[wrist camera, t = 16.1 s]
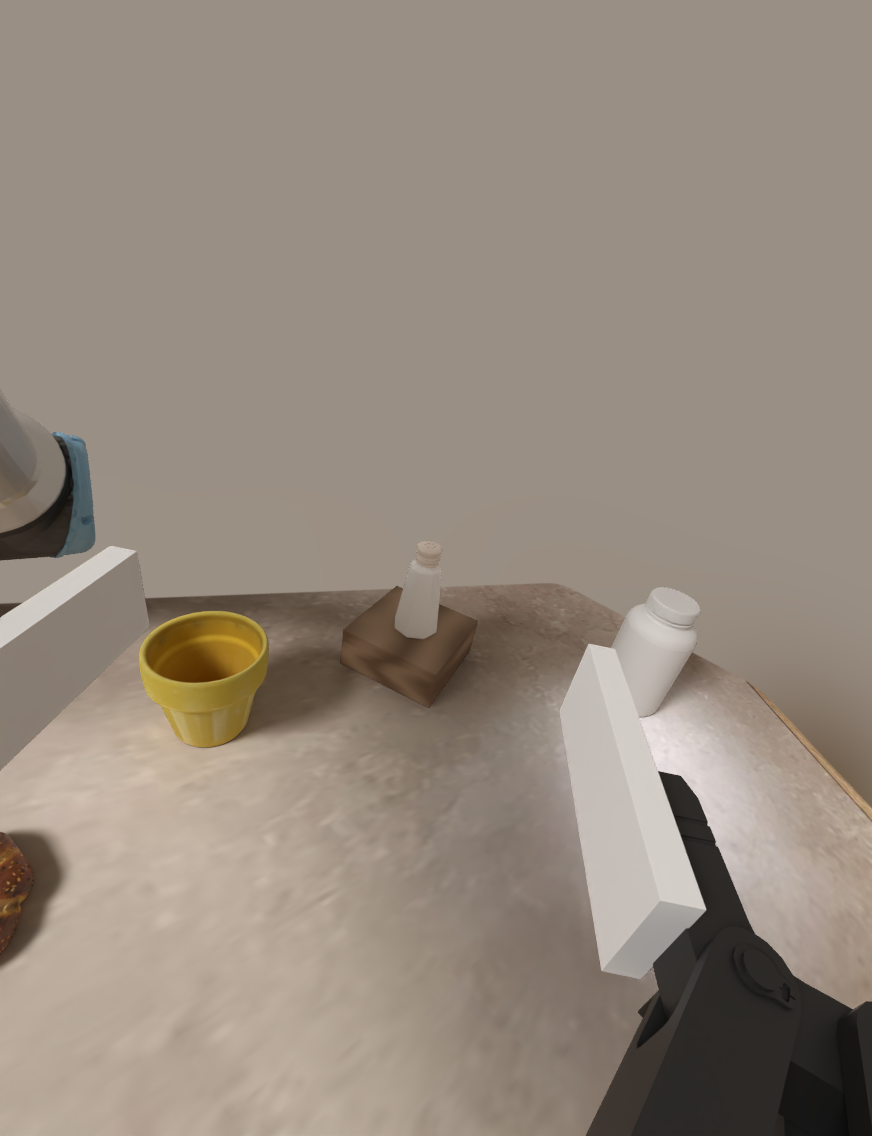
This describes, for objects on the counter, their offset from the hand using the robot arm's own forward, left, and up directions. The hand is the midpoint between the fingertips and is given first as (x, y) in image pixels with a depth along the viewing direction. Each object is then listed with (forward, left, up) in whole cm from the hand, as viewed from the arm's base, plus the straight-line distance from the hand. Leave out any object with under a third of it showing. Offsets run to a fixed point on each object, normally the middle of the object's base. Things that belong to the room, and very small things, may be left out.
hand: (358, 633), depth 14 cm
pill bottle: (+14, +44, -31) cm, 56 cm away
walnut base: (-12, +33, -31) cm, 47 cm away
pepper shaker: (-12, +33, -26) cm, 44 cm away
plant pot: (-23, +13, -31) cm, 41 cm away
